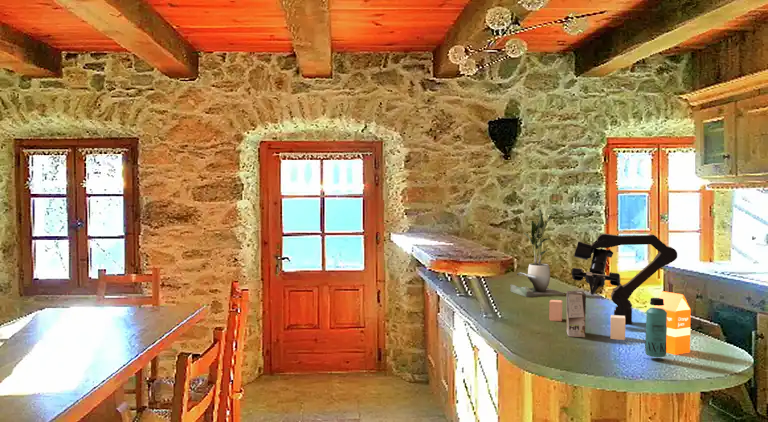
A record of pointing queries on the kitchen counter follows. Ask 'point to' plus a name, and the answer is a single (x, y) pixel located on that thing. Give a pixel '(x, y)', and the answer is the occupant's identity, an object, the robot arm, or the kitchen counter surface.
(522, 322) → the kitchen counter surface
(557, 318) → the terracotta block
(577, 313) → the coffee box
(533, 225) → the potted plant
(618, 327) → the cream block
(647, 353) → the beverage bottle
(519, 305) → the kitchen counter surface
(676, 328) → the orange juice
